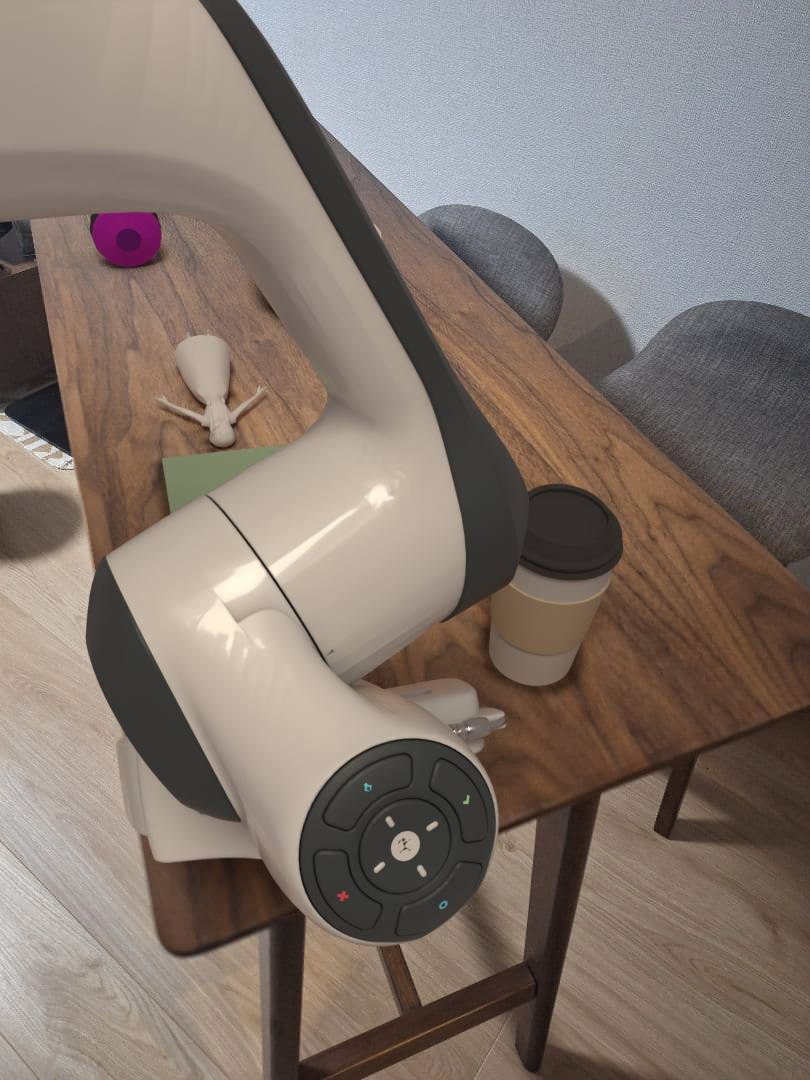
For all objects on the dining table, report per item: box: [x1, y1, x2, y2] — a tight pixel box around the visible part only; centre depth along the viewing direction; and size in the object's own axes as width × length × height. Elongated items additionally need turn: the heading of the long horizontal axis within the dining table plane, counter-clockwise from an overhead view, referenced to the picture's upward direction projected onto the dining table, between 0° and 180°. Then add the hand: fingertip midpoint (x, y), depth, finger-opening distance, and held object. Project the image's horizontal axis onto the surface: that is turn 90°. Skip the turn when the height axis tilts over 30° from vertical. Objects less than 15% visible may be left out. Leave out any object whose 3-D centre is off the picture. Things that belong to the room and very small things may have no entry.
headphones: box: [89, 212, 163, 268], centre depth 117 cm, size 21×9×20 cm, turn 19°
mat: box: [161, 443, 288, 515], centre depth 84 cm, size 18×16×1 cm
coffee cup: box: [488, 483, 624, 687], centre depth 68 cm, size 9×9×15 cm
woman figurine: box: [154, 330, 268, 448], centre depth 95 cm, size 12×4×18 cm
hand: (287, 724), depth 58 cm, fingers closed on cosmetic box, 7 cm apart
